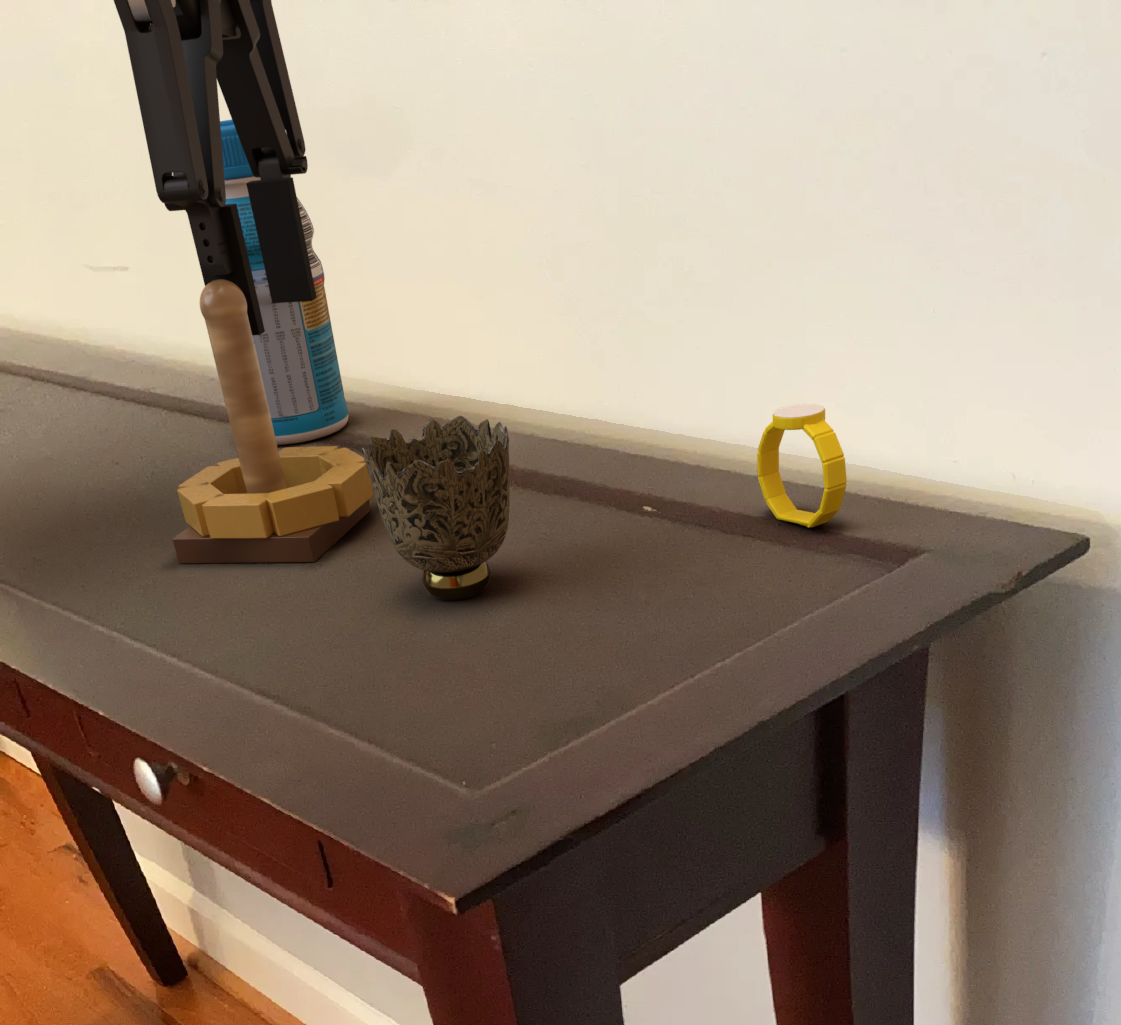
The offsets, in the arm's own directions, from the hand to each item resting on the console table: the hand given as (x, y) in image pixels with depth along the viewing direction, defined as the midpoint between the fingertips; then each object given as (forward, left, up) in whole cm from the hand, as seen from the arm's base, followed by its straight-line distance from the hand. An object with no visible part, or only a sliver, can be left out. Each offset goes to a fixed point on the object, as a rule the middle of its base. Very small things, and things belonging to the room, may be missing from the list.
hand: (268, 316), depth 82 cm
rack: (0, -6, -11) cm, 13 cm away
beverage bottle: (-9, +17, -11) cm, 23 cm away
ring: (0, -5, -10) cm, 11 cm away
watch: (+32, -5, -11) cm, 35 cm away
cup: (+15, -15, -11) cm, 24 cm away
